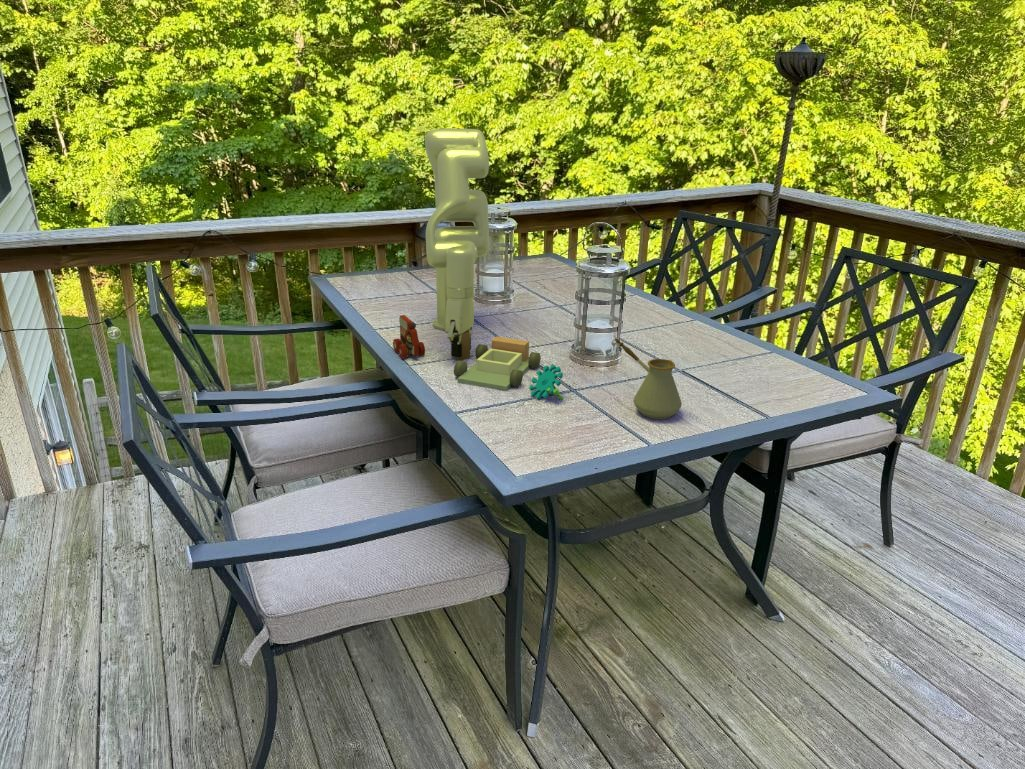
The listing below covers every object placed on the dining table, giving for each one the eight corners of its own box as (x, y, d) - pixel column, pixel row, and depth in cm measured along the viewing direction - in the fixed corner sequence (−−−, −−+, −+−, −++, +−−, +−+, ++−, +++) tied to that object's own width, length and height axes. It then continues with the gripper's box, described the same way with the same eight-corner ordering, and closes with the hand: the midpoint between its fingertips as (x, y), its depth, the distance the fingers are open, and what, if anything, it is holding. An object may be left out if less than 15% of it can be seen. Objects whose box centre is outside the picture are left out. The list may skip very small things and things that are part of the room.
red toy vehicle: (404, 362, 206) (403, 327, 202) (391, 348, 216) (389, 315, 212) (428, 359, 209) (427, 324, 205) (413, 345, 219) (412, 312, 215)
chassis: (484, 354, 213) (484, 334, 211) (542, 363, 207) (543, 342, 205) (450, 381, 194) (450, 359, 192) (514, 392, 188) (514, 369, 186)
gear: (522, 383, 190) (550, 356, 188) (536, 395, 193) (563, 368, 192) (538, 405, 181) (567, 377, 180) (552, 417, 184) (580, 390, 183)
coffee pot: (690, 414, 178) (697, 356, 172) (659, 427, 171) (665, 367, 165) (625, 386, 193) (629, 332, 187) (594, 397, 186) (597, 342, 180)
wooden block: (463, 353, 213) (463, 327, 210) (470, 358, 210) (470, 331, 207) (451, 356, 211) (451, 330, 208) (458, 360, 208) (458, 334, 205)
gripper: (461, 282, 212) (462, 342, 219) (434, 298, 197) (435, 361, 204) (485, 285, 209) (485, 345, 216) (459, 301, 194) (460, 365, 202)
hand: (461, 352), depth 210 cm, fingers closed on wooden block, 5 cm apart
